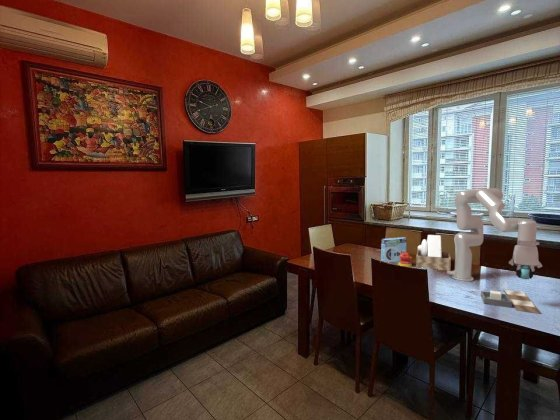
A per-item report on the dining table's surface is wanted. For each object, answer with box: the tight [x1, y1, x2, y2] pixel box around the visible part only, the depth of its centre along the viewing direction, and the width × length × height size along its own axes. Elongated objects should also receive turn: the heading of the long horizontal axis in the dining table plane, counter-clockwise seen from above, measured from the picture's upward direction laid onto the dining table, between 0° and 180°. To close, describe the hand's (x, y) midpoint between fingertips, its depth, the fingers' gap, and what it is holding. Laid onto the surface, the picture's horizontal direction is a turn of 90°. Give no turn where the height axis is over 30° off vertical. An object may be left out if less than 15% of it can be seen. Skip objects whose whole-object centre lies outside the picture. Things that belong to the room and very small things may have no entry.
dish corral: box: [415, 249, 452, 271], centre depth 235 cm, size 23×23×9 cm
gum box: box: [380, 236, 407, 265], centre depth 230 cm, size 20×5×23 cm, turn 106°
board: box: [503, 289, 542, 315], centre depth 165 cm, size 10×32×1 cm, turn 153°
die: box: [489, 290, 502, 300], centre depth 165 cm, size 5×5×5 cm
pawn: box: [519, 265, 530, 280], centre depth 160 cm, size 4×4×8 cm
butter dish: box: [417, 234, 442, 258], centre depth 237 cm, size 18×18×16 cm
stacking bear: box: [398, 251, 413, 268], centre depth 205 cm, size 11×10×18 cm
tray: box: [480, 290, 513, 309], centre depth 164 cm, size 12×12×3 cm
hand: (524, 277), depth 160 cm, fingers closed on pawn, 4 cm apart
